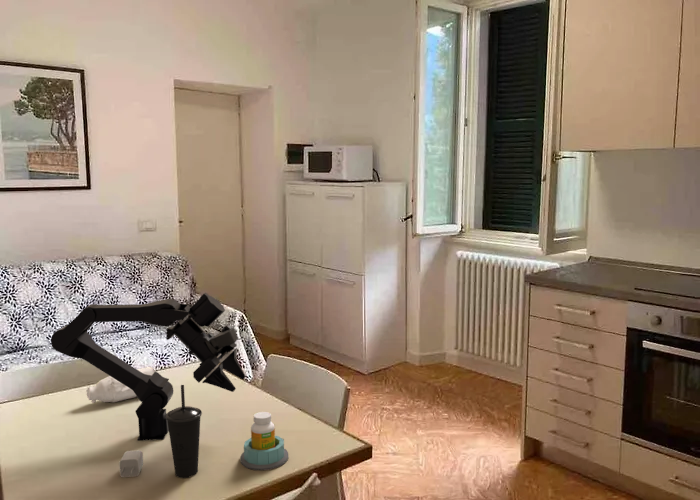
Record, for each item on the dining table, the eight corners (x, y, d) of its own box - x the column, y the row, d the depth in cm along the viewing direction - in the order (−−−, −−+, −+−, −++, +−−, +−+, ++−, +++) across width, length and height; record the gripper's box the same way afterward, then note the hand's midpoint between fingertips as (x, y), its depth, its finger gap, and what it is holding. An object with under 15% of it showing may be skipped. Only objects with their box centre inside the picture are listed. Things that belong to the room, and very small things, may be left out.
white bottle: (84, 403, 176) (82, 377, 176) (148, 388, 188) (146, 363, 187) (93, 411, 170) (91, 384, 169) (158, 395, 182) (156, 369, 181)
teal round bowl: (238, 471, 134) (237, 455, 134) (242, 449, 145) (242, 434, 144) (287, 468, 135) (287, 452, 134) (288, 447, 146) (288, 432, 145)
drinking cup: (172, 465, 137) (168, 380, 135) (206, 463, 138) (203, 378, 136) (165, 482, 130) (160, 392, 127) (201, 480, 130) (197, 390, 128)
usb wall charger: (143, 466, 137) (142, 450, 137) (136, 482, 130) (135, 464, 130) (125, 468, 137) (123, 451, 136) (117, 483, 130) (115, 465, 129)
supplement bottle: (262, 463, 136) (261, 421, 135) (247, 456, 140) (245, 415, 138) (280, 454, 140) (279, 414, 139) (264, 448, 144) (263, 408, 142)
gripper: (205, 327, 141) (252, 375, 141) (228, 309, 159) (270, 352, 159) (173, 358, 142) (219, 406, 143) (199, 337, 161) (241, 379, 161)
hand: (239, 384), depth 151 cm, fingers open, 9 cm apart
